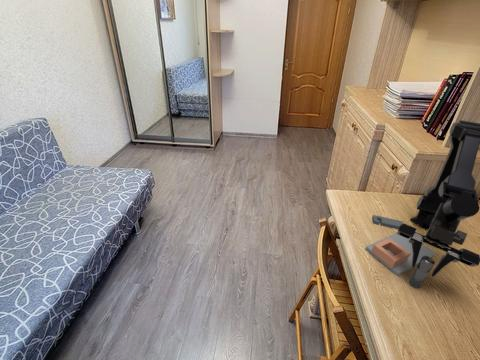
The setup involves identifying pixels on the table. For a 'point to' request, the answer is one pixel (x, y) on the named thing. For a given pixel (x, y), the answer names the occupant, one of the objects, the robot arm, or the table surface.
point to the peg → (421, 271)
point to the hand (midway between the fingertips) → (422, 271)
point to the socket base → (397, 253)
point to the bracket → (386, 222)
